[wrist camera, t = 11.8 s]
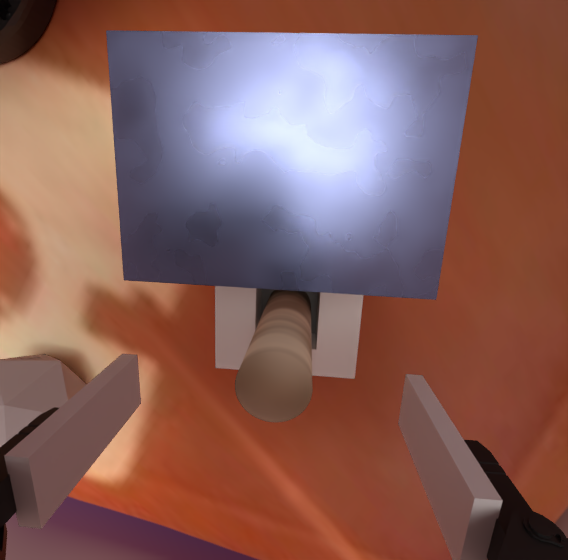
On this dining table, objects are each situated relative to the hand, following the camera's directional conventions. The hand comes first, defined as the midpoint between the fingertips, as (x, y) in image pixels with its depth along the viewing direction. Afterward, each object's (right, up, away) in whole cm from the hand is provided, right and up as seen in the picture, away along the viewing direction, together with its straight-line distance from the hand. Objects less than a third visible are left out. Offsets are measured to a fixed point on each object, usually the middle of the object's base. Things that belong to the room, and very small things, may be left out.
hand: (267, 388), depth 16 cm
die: (-23, -5, +19) cm, 30 cm away
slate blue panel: (+2, +13, +13) cm, 18 cm away
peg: (+1, +3, +15) cm, 15 cm away
